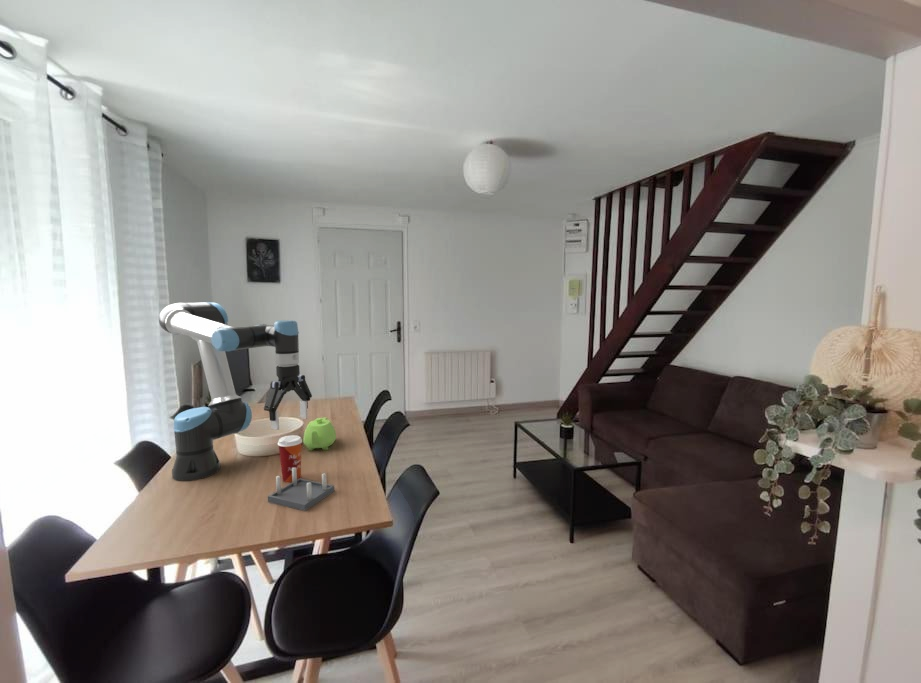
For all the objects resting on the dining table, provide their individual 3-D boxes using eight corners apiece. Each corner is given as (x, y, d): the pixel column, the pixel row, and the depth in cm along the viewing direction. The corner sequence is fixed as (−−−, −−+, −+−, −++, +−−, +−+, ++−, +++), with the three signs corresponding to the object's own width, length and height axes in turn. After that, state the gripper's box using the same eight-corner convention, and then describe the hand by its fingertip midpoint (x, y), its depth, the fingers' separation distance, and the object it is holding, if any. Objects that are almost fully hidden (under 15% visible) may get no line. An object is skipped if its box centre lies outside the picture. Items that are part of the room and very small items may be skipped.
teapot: (330, 455, 170) (328, 425, 169) (296, 456, 170) (295, 426, 168) (340, 438, 190) (339, 411, 189) (311, 439, 189) (310, 412, 188)
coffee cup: (295, 484, 144) (293, 443, 142) (274, 482, 145) (272, 441, 144) (308, 474, 152) (307, 435, 150) (288, 472, 154) (286, 433, 152)
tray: (267, 502, 132) (266, 480, 131) (299, 483, 145) (298, 463, 144) (304, 511, 126) (303, 488, 126) (334, 491, 139) (333, 470, 139)
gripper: (267, 371, 131) (270, 436, 134) (320, 360, 154) (322, 415, 157) (249, 369, 134) (253, 433, 136) (304, 358, 157) (306, 412, 159)
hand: (290, 423), depth 147 cm, fingers open, 13 cm apart
